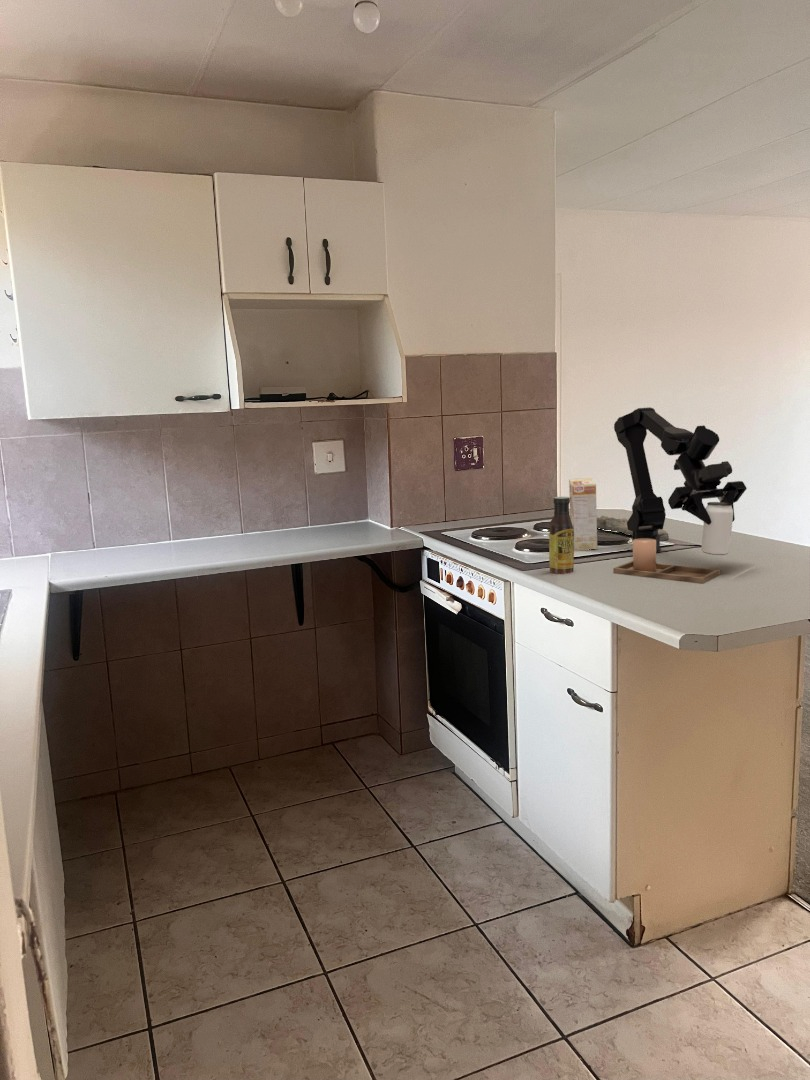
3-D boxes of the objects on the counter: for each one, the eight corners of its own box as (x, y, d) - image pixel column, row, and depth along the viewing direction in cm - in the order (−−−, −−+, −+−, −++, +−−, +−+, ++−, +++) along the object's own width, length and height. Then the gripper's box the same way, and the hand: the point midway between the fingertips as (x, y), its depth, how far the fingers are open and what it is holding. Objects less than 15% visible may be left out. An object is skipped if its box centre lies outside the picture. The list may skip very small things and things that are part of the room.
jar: (629, 572, 204) (628, 541, 202) (639, 568, 208) (639, 537, 206) (649, 575, 200) (649, 543, 198) (660, 570, 204) (660, 539, 202)
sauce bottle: (559, 577, 206) (557, 499, 202) (544, 573, 211) (542, 497, 208) (580, 573, 209) (578, 496, 205) (564, 569, 214) (562, 494, 211)
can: (728, 550, 199) (733, 502, 197) (730, 556, 193) (734, 506, 191) (700, 548, 201) (705, 501, 199) (701, 554, 195) (705, 505, 193)
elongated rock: (650, 548, 241) (676, 545, 245) (651, 530, 240) (678, 528, 244) (581, 526, 273) (606, 525, 277) (582, 511, 272) (607, 509, 276)
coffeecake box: (570, 541, 251) (568, 478, 248) (593, 540, 250) (592, 477, 247) (573, 551, 237) (571, 484, 233) (598, 550, 236) (596, 483, 232)
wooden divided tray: (613, 575, 204) (613, 568, 204) (632, 567, 211) (632, 560, 211) (702, 586, 189) (702, 578, 188) (720, 577, 196) (720, 569, 195)
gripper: (674, 454, 194) (701, 505, 186) (742, 448, 198) (771, 498, 190) (656, 483, 203) (681, 533, 195) (722, 477, 207) (749, 526, 199)
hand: (721, 522), depth 194 cm, fingers closed on can, 6 cm apart
